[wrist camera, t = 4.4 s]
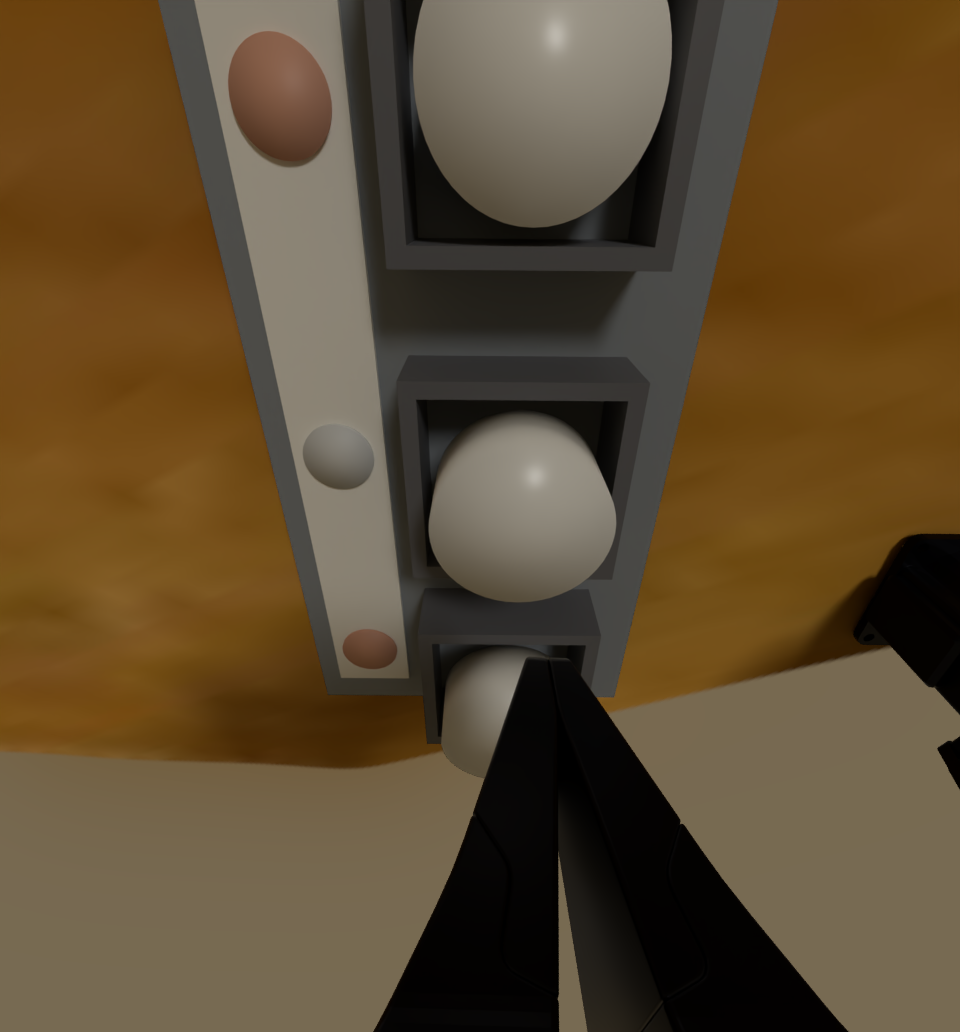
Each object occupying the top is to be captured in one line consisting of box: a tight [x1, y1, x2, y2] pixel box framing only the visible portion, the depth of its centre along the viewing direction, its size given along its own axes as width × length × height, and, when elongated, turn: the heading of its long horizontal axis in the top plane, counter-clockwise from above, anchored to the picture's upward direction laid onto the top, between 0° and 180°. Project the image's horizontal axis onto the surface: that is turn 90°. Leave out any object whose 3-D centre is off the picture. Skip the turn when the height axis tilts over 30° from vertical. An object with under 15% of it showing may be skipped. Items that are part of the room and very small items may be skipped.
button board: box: [158, 0, 778, 744], centre depth 17 cm, size 14×26×5 cm, turn 0°
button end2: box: [441, 645, 551, 778], centre depth 20 cm, size 5×5×2 cm
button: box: [413, 0, 672, 228], centre depth 11 cm, size 5×5×2 cm
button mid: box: [429, 410, 616, 602], centre depth 14 cm, size 5×5×2 cm
